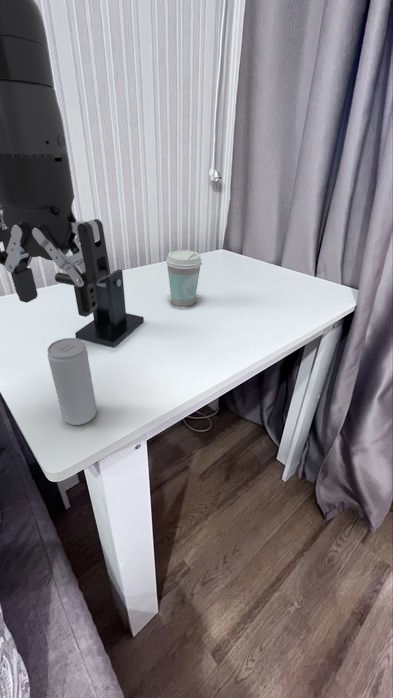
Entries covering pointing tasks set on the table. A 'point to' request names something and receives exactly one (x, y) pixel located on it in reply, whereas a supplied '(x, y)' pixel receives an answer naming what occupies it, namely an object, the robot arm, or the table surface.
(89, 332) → the bracket
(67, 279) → the lever
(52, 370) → the beverage can
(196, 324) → the table surface
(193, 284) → the coffee cup
